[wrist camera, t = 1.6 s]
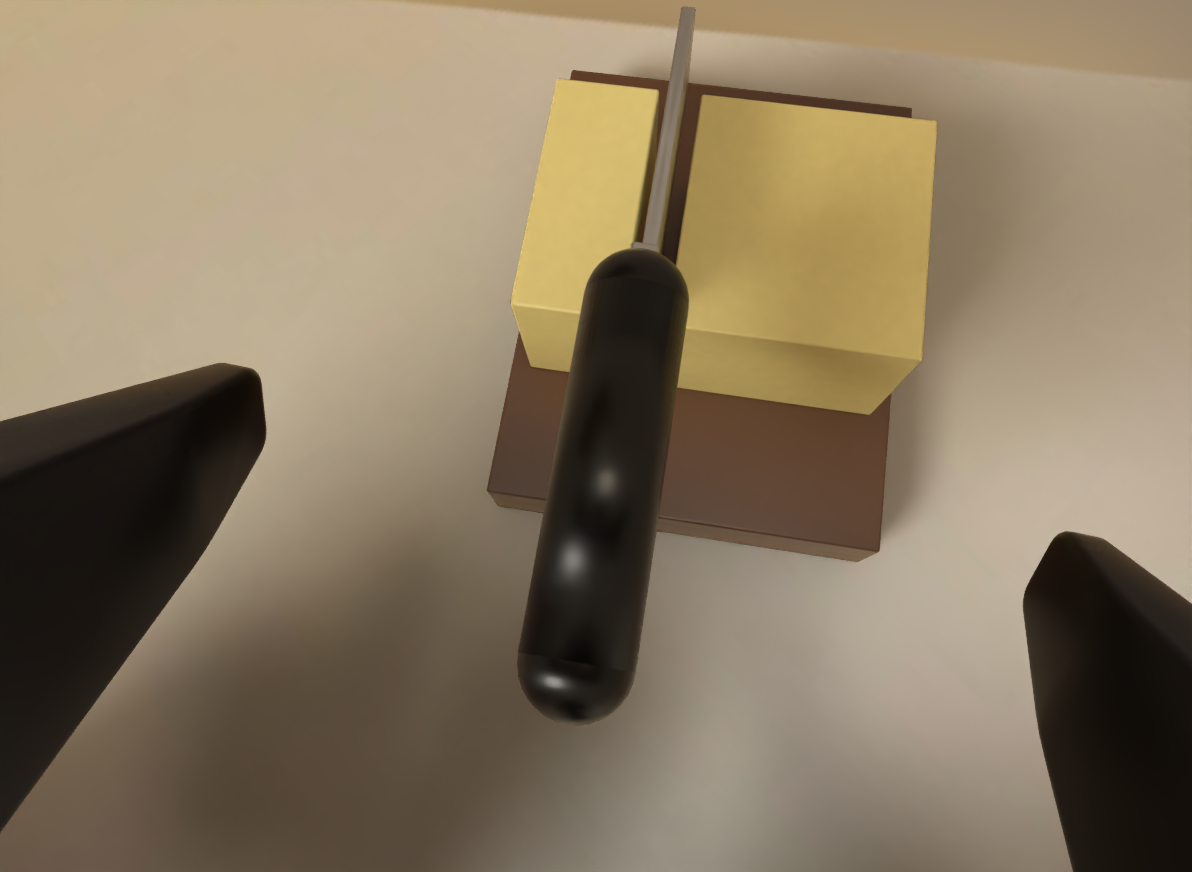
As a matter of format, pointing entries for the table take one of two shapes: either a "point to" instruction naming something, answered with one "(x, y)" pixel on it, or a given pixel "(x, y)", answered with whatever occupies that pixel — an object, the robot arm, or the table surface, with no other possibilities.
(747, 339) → the butter
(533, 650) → the knife
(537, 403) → the board
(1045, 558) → the robot arm
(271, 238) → the table surface
